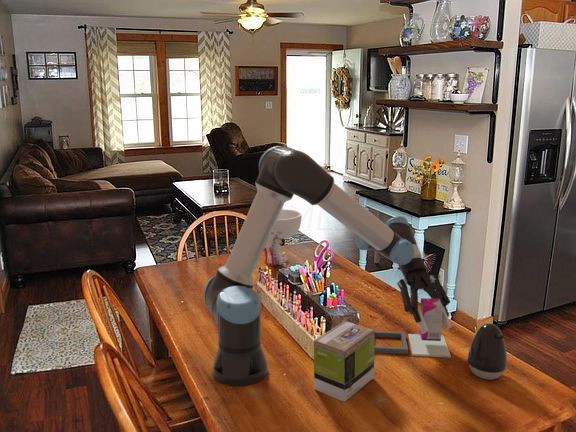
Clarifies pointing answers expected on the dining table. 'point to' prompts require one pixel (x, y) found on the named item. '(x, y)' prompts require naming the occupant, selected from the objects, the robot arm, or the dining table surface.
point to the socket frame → (392, 349)
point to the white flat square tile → (428, 347)
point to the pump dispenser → (488, 352)
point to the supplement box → (432, 318)
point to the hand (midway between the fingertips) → (436, 330)
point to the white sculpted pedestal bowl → (282, 235)
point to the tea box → (344, 360)
